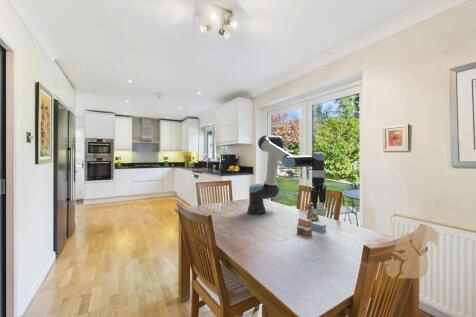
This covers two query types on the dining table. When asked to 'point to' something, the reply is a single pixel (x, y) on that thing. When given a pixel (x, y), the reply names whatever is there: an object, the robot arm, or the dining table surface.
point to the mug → (310, 214)
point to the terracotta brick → (304, 222)
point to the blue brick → (318, 226)
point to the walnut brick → (304, 231)
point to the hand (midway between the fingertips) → (318, 212)
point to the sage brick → (320, 211)
